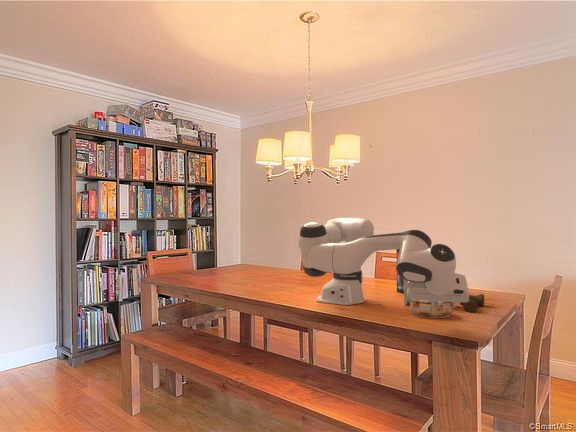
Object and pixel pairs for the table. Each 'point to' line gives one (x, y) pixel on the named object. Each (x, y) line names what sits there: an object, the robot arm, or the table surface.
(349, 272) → the robot arm
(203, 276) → the table surface
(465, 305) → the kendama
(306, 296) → the table surface
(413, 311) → the trinket box
